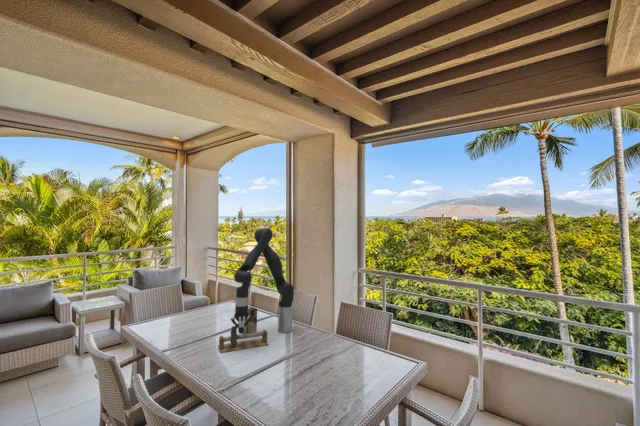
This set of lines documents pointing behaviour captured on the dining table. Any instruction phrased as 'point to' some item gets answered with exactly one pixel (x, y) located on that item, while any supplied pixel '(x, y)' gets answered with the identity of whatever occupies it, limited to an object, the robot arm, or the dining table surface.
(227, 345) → the rail
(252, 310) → the coffee box
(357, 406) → the dining table surface
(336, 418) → the dining table surface
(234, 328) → the collar
